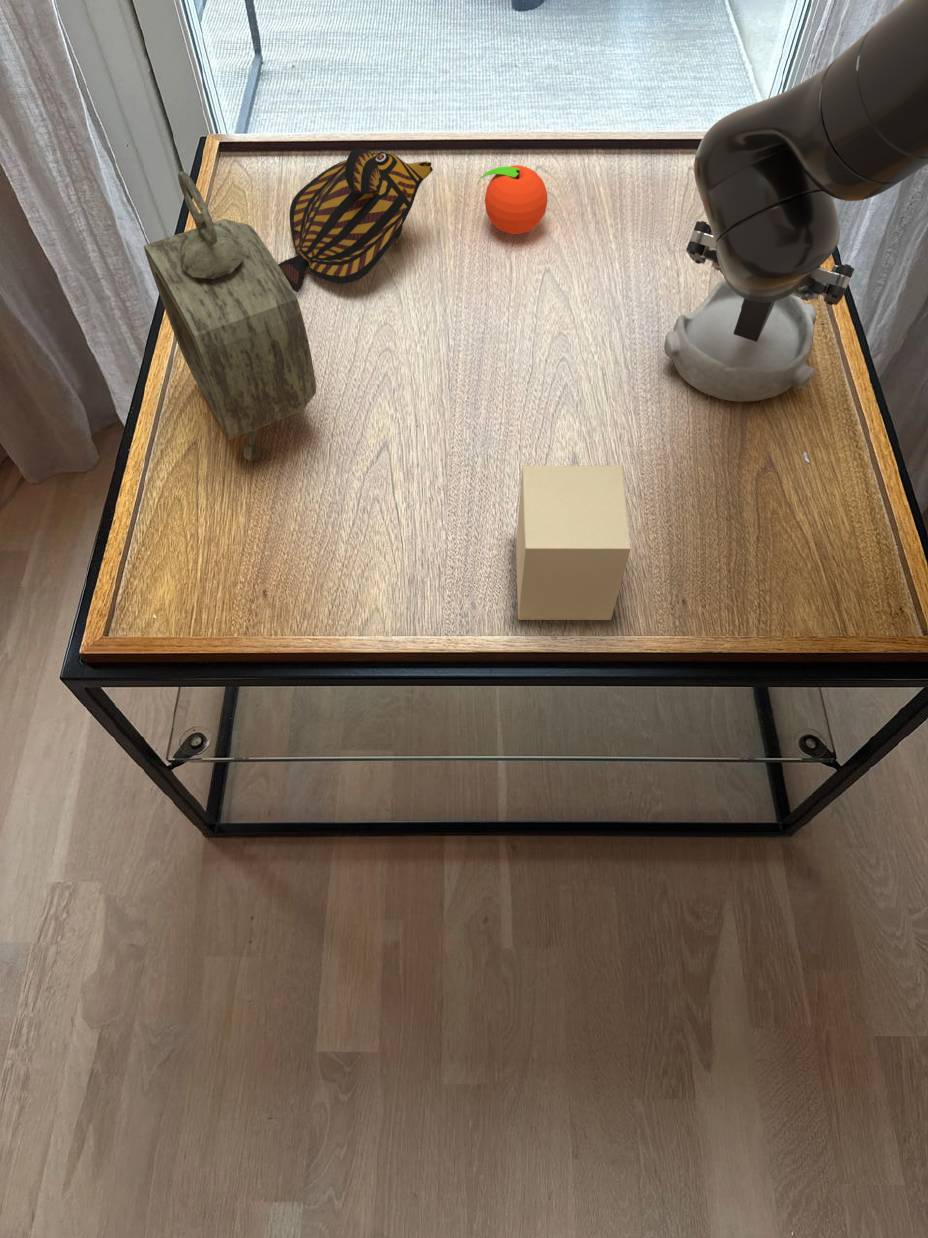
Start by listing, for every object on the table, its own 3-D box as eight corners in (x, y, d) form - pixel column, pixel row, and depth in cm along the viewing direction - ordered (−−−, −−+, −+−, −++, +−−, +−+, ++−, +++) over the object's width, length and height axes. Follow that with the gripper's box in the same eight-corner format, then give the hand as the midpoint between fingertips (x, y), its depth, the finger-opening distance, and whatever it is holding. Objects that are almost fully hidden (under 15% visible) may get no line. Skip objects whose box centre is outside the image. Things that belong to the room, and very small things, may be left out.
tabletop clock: (190, 379, 93) (106, 146, 71) (273, 348, 95) (216, 113, 73) (244, 479, 87) (170, 257, 65) (331, 444, 89) (288, 217, 67)
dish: (649, 383, 92) (658, 346, 88) (691, 296, 99) (701, 257, 94) (790, 429, 89) (807, 392, 85) (824, 336, 96) (841, 297, 91)
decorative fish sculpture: (406, 309, 98) (399, 214, 88) (265, 284, 100) (242, 187, 90) (440, 225, 104) (438, 127, 94) (307, 203, 106) (291, 105, 96)
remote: (772, 309, 91) (797, 240, 84) (756, 342, 88) (781, 273, 81) (747, 301, 91) (770, 232, 84) (731, 333, 89) (753, 265, 82)
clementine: (468, 239, 103) (468, 182, 97) (484, 201, 107) (485, 143, 100) (537, 252, 102) (541, 195, 96) (551, 213, 105) (556, 155, 99)
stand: (604, 543, 83) (622, 465, 73) (611, 620, 79) (631, 548, 69) (515, 543, 83) (522, 465, 73) (518, 620, 79) (525, 548, 69)
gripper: (881, 222, 69) (861, 258, 84) (698, 169, 72) (711, 213, 87) (837, 322, 71) (826, 339, 86) (662, 267, 74) (681, 293, 89)
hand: (768, 276), depth 87 cm, fingers open, 7 cm apart
